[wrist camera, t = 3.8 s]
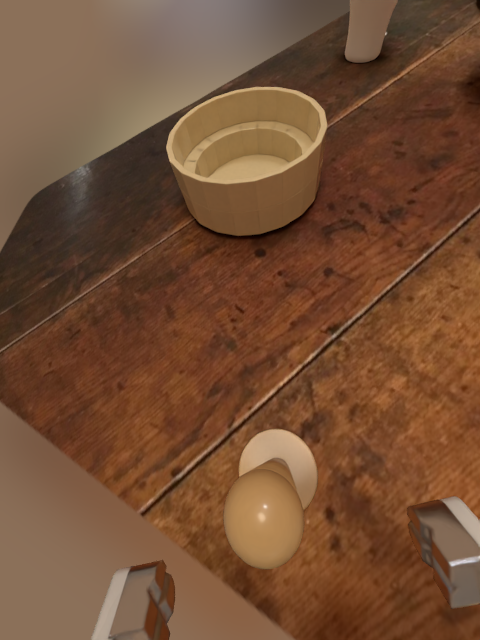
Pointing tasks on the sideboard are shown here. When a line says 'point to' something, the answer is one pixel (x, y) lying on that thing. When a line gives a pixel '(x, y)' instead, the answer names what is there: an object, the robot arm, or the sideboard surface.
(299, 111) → the mixing bowl
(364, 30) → the cup
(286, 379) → the sideboard surface
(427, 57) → the sideboard surface
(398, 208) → the sideboard surface
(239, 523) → the wooden dowel stand
